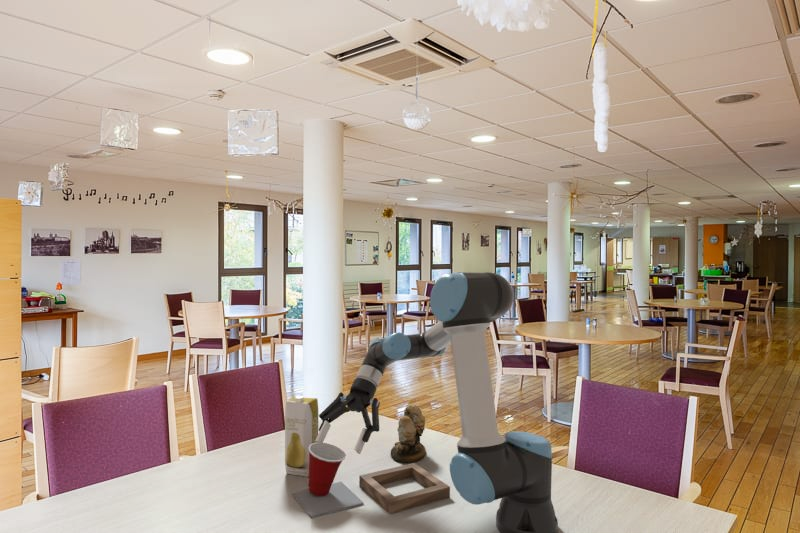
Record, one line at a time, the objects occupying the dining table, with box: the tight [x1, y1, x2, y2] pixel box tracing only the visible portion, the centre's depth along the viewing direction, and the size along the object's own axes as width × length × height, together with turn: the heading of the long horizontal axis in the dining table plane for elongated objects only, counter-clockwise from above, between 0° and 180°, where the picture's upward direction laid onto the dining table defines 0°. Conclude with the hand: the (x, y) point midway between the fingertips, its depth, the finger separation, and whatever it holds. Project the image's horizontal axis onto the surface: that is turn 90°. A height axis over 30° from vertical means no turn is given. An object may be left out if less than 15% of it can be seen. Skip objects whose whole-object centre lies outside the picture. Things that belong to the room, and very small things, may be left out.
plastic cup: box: [307, 442, 347, 496], centre depth 148 cm, size 11×11×12 cm
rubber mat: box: [291, 481, 365, 518], centre depth 146 cm, size 15×15×1 cm
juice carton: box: [284, 395, 319, 478], centre depth 164 cm, size 9×8×24 cm
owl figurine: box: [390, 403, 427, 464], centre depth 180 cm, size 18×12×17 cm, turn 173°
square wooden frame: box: [358, 462, 451, 514], centre depth 151 cm, size 19×19×3 cm
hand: (337, 447), depth 150 cm, fingers open, 13 cm apart
